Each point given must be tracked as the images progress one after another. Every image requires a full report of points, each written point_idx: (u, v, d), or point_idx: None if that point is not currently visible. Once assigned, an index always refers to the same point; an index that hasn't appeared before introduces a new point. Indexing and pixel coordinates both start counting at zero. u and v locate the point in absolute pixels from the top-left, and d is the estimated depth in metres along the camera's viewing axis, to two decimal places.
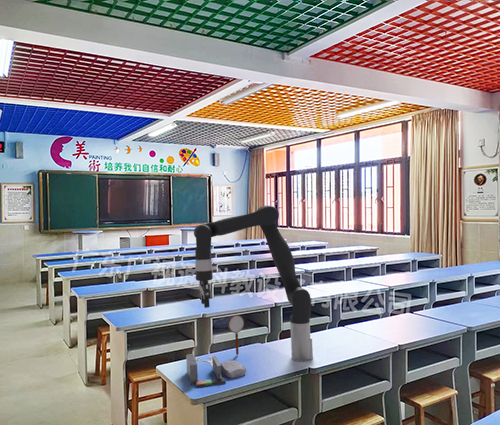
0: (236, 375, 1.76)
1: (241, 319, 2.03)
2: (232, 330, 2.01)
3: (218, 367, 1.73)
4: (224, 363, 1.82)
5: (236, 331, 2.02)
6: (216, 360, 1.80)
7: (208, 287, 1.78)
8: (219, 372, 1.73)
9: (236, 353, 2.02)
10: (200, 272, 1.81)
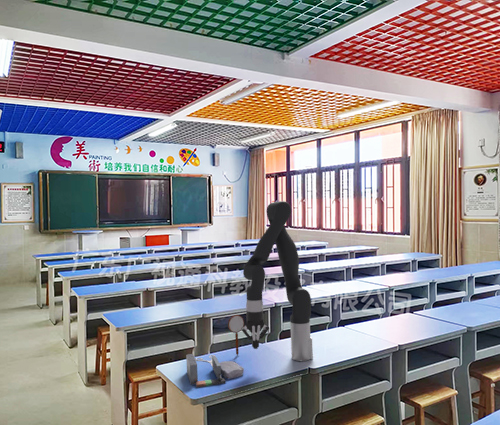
0: (234, 376, 1.75)
1: (241, 319, 2.03)
2: (232, 330, 2.01)
3: (218, 367, 1.73)
4: (221, 364, 1.82)
5: (236, 331, 2.02)
6: (216, 360, 1.80)
7: None
8: (219, 372, 1.73)
9: (236, 353, 2.02)
10: (262, 311, 1.83)
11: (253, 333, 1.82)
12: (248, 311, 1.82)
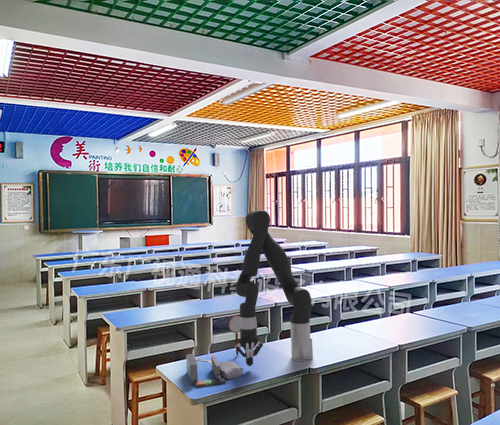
0: (233, 376, 1.75)
1: None
2: (232, 330, 2.01)
3: (217, 367, 1.73)
4: (221, 364, 1.81)
5: (236, 331, 2.02)
6: (215, 360, 1.80)
7: None
8: (218, 372, 1.73)
9: (236, 353, 2.02)
10: (256, 328, 1.82)
11: (247, 350, 1.81)
12: (242, 328, 1.81)
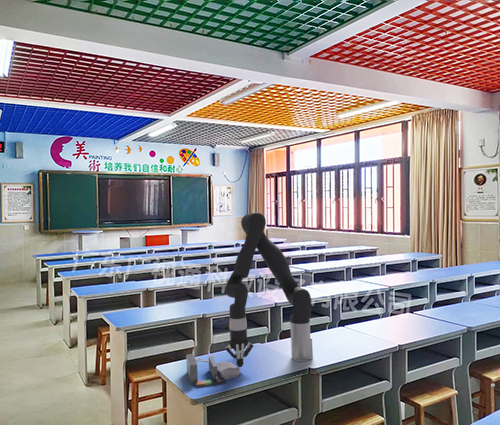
0: (229, 377, 1.74)
1: None
2: None
3: (214, 368, 1.73)
4: (218, 364, 1.81)
5: None
6: (212, 360, 1.79)
7: None
8: (215, 373, 1.73)
9: None
10: (246, 329, 1.81)
11: (237, 351, 1.80)
12: (231, 329, 1.80)
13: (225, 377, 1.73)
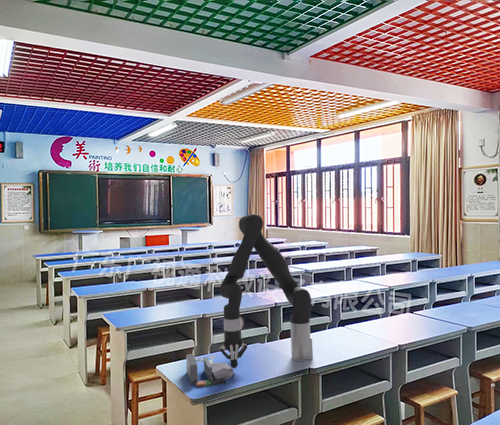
0: None
1: (241, 319, 2.03)
2: None
3: (209, 368, 1.72)
4: (212, 365, 1.81)
5: None
6: (207, 361, 1.79)
7: None
8: (210, 373, 1.72)
9: None
10: (240, 330, 1.80)
11: (231, 352, 1.79)
12: (225, 330, 1.79)
13: (217, 378, 1.73)
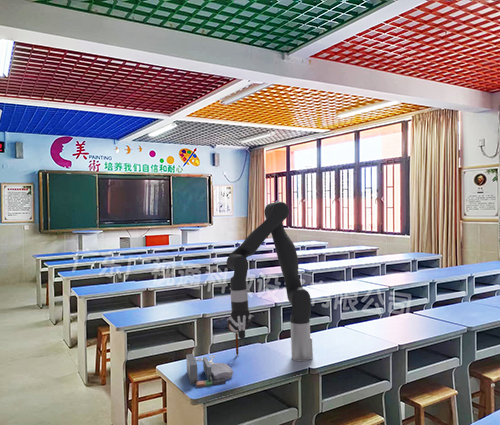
0: None
1: None
2: (232, 330, 2.01)
3: (208, 368, 1.72)
4: (212, 365, 1.80)
5: (236, 331, 2.02)
6: (207, 361, 1.79)
7: None
8: (209, 373, 1.72)
9: (236, 353, 2.02)
10: (247, 301, 1.81)
11: (239, 323, 1.80)
12: (233, 301, 1.80)
13: None
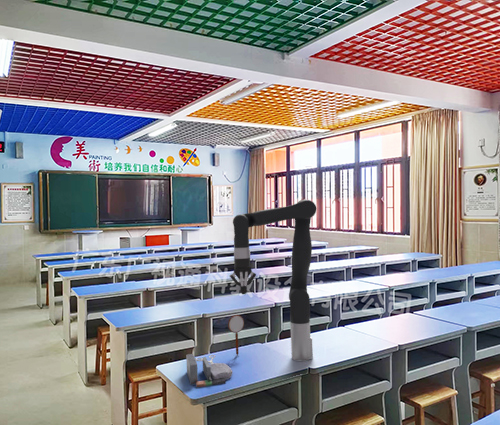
0: None
1: (241, 319, 2.03)
2: (232, 330, 2.01)
3: (208, 368, 1.72)
4: (211, 365, 1.80)
5: (236, 331, 2.02)
6: (206, 361, 1.79)
7: None
8: (209, 373, 1.72)
9: (236, 353, 2.02)
10: (249, 258, 1.92)
11: (241, 279, 1.91)
12: (236, 258, 1.91)
13: None
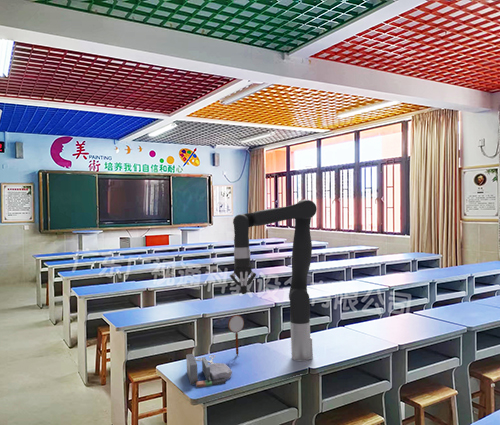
0: (220, 378, 1.73)
1: (241, 319, 2.03)
2: (232, 330, 2.01)
3: (207, 368, 1.72)
4: (211, 365, 1.80)
5: (236, 331, 2.02)
6: (205, 361, 1.79)
7: None
8: (208, 374, 1.72)
9: (236, 353, 2.02)
10: (249, 258, 1.92)
11: (241, 279, 1.91)
12: (236, 258, 1.91)
13: None
